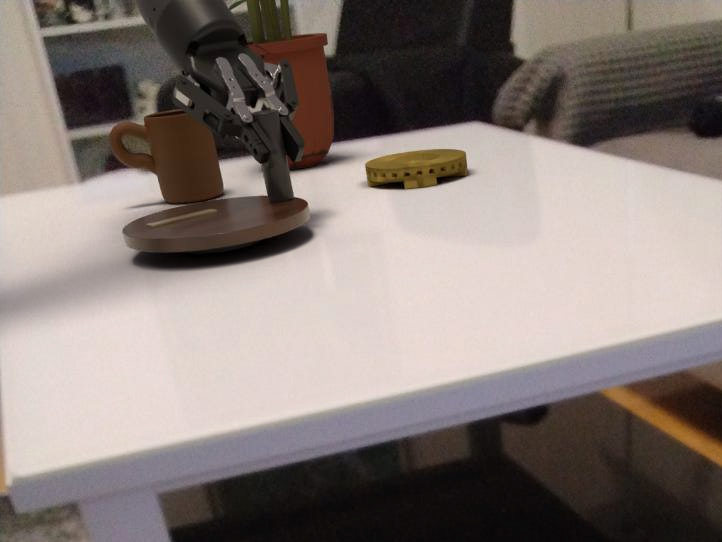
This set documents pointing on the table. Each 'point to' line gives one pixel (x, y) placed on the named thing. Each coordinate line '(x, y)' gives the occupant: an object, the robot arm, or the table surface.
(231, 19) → the robot arm
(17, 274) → the table surface
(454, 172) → the yellow flat disc
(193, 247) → the stand with round base
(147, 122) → the mug
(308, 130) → the potted plant
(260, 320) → the table surface
